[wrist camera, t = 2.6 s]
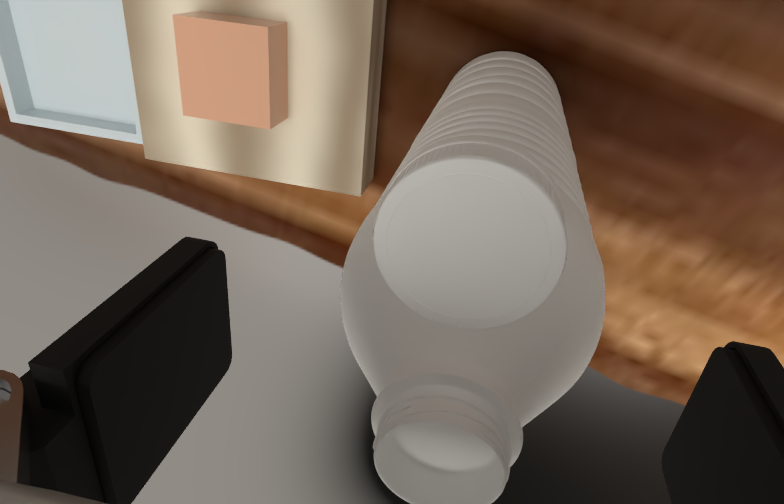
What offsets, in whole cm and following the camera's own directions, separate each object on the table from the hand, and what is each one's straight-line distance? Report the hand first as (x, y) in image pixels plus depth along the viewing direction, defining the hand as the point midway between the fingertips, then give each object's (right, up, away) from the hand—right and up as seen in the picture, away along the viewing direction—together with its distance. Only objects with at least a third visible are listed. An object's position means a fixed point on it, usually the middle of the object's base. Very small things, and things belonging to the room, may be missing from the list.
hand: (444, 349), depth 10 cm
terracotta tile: (-9, +12, +19) cm, 24 cm away
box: (-21, +16, +23) cm, 35 cm away
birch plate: (-8, +14, +21) cm, 27 cm away
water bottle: (+5, +11, +19) cm, 23 cm away
